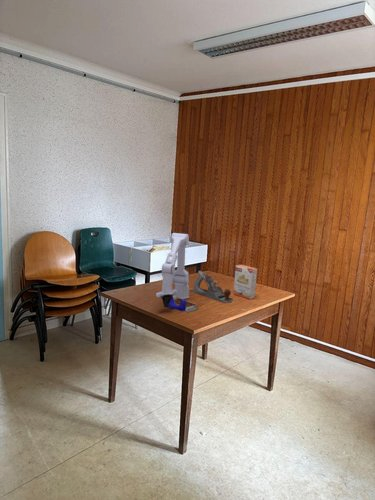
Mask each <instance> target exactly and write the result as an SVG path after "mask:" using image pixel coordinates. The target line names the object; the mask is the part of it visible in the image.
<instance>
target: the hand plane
mask: <svg viewBox="0 0 375 500" xmlns="http://www.w3.org/2000/svg"><path fill="white" fill-rule="evenodd" d="M197 273H198V276H197V277H196V278H195V280H194V283H193V289H189V292H191V293H194V294H197V295H200V296H203V297H205V298H207V299H211V300H214V301H217V302H220V303H223V304H229V303H233V302H234V298H232V297H230V295H231V293H232V292H231V290H230V289H229V288H225V290H224V291H223V288H222V287H221V286H217V285H216V284H218V281H217V280H213V278H212V276H211V275H210V274H209V273H208V272H207V273H203V272H202V271H201V270H198V272H197ZM203 280H204V282H205V284H206V285H207V287H208V289H205V288H201V283H202V282H203Z"/></svg>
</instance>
